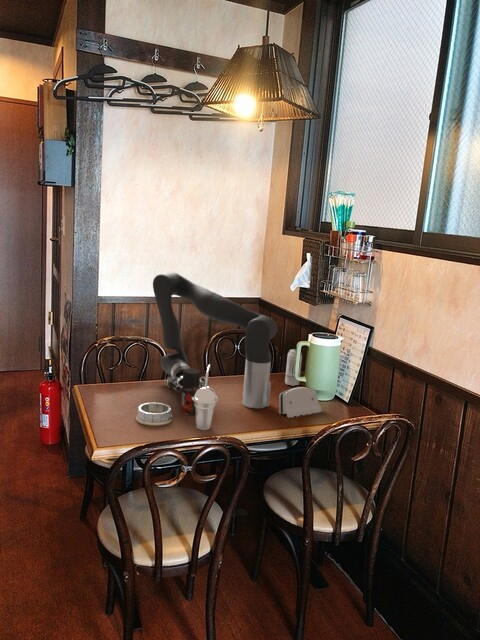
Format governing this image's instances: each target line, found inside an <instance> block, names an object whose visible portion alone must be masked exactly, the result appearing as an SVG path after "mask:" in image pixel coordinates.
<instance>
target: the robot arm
mask: <svg viewBox="0 0 480 640" xmlns="http://www.w3.org/2000/svg"><path fill="white" fill-rule="evenodd" d="M152 289H153V292H154V297H155V301H156V306H157V310H158V313H159V314H158V315H159V318H160V322H161V329H162V340H163V347H164V348H165V349H166V350H174V351H177V352H176V353H168V354H165V355H163V356H162V357H161V359H160V367H161V369H162V370H163V371H164V372H165V373H166V374H168V375H170V376H167V378H166V385H167V388H168V389H170V390H172V389H174V390H175V391H176V392H177V393H181V392H182V383H183V370H184V369H189V368H191V367H190V366H189V365H188V364H189V362H188V358H187V355H186V353H185V350H184V347H183V344H182V336H181V335H182V334H181V333H182V332H181V327H180V323H179V321H178V318H177V316H176V314H175V312H174V310H173V304H172V296H178V297H180V298H183V299H185V300H187V301H188V302H190V303H191V304H192V305H193V307H195V309H197V311H199V312H200V313H201V314H202V315H204V316H206V317H208V318H210V319H213V320H215V321H217V322H221V323H225V324H229V325H235V326H237V327H240V328H242V329H245V336H244V337H245V339H244V340H245V341H244V351H245V365H244V379H243V388H242V389H243V390H242V405H243V406H245V407H246V408H251V409H264V408H267V407H270V395H271V386H272V385H271V384H272V382H271V381H270V375H271V365H272V364H271V363H272V353H271V352H270V340H272V339H273V338H274V337H275V336H276V335H277V332H278V326H277V323H276V322H275V321H274V320H273V318H272V317H270V316H267V315H265V314H262V313H259V312H256V311H253V310H250V309H248V308H246V307H244V306H242V305H240V304H239V303H236V302H234V301H232V300H230V299H229V298H226V297H224V296H222V295H220V294H218V293H216V292H213V291H212V290H209V289H208V288H205V287H202V286H200V285H199V284H196V283H194V282H192V281H190V280H189V279H187V277H184V276H183V275H181V274H179V273H178V272H175V271H166V272H162V273H160V274H157V275H156V276H155V277H154V278H153V280H152ZM205 381H206V376H200V385H199V388H200V387H203V386H205ZM209 382H210V381H209V380H208V383H207V386H208V387H209Z"/></svg>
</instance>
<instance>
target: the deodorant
mask: <svg viewBox="0 0 480 640" xmlns="http://www.w3.org/2000/svg"><path fill="white" fill-rule="evenodd" d="M200 378H201V370H200V369H197V368H191V367H190V368H189V369H184V370H183V383H182V388H181V400H180V401H181V402H180V413H181V414H182V415H186V416H196V414H195V404H194V401H193V400H192V397H193V395H194V394H195V392H196V391H197V389H199V385H200V384H201V383H200Z"/></svg>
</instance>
